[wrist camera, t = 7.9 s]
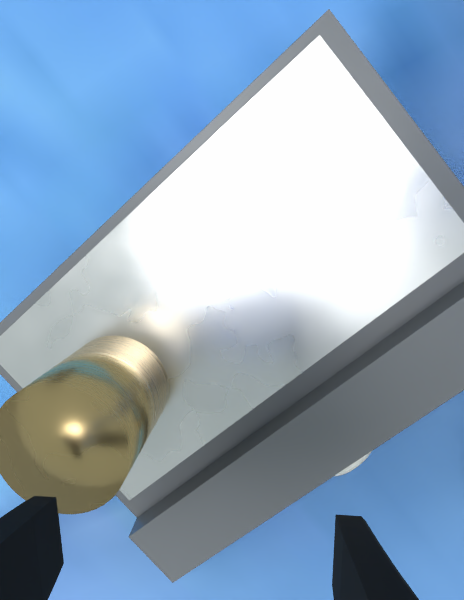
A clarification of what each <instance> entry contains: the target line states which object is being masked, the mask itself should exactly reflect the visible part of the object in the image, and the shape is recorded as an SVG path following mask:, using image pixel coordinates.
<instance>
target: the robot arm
mask: <svg viewBox="0 0 464 600" xmlns="http://www.w3.org/2000/svg"><path fill="white" fill-rule="evenodd" d="M63 564H64V562H63V553H62V544H61V535H60V526H59V517H58V508H57V499H56V497H46V496H33V497H32V498H30V499H28V500H27V501H25V502H24V503H22V504H20V505H19V506H17V507H16V508H14V509H13V510H11V511H10V512H8V513H7V514H5V515H4V516H2V517H1V518H0V600H48V598H49V596H50V593H51V591H52V589H53V587H54V585H55V582H56V580H57V578H58V575H59V573H60V571H61V568H62V566H63ZM332 587H333V596H334V600H419V599H418V598H417V596H416V595H415V594H414V592H413V591H412V589H411V588H410V587H409V585H408V584H407V583H406V581H405V580H404V579H403V577H402V576H401V574H400V573H399V572H398V570H397V569H396V567H395V566H394V564H393V563H392V561H391V560H390V558H389V557H388V555H387V554H386V552H385V551H384V550H383V548H382V546H381V545H380V543H379V542H378V540H377V539H376V537H375V536H374V534H373V532H372V531H371V529H370V527H369V526H368V524H367V522H366V521H365V520H364V519H363V518H362V517H361V516H347V515H336V520H335V540H334V560H333V579H332Z"/></svg>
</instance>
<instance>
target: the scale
mask: <svg viewBox="0 0 464 600" xmlns="http://www.w3.org/2000/svg"><path fill="white" fill-rule="evenodd" d="M104 336H123V337H128V338H131V339H134V340H136V341H138V342H140V343H142V344H143V345H145V346H146V347H148V348H149V349H150V350H151V351H152V352H153V353H154V354H155V355H156V356H157V357H158V359H159V360H160V362H161V363H162V365H163V367H164V369H165V371H166V374H167V378H168V384H169V395H168V400H167V403H166V406H165V408H164V410H163V412H162V414H161V415H160V417H159V419H158V421H157V423H156V424H155V426H154V428H153V430H152V432H151V433H150V435H149V437H148V439H147V441H146V443H145V444H144V446H143V448H142V450H141V452H140V453H139V455H138V457H137V459H136V461H135V462H134V464H133V466H132V468H131V470H130V472H129V473H128V475H127V477H126V479H125V481H124V482H123V484H122V486H121V488H120V489H119V491H118V492H117V493H116V496H117V497H118V498H119V499H120V500H121V501H122V502H123V503H124V505H125V506H126V507H127V508H128V509H129V510H130V511H131V512H132V513H133V514H134V515H135V516H136V517H137V519H136V521H135V524H134V526H133V528H132V531H131V533H130V535H129V538H130V539H131V540H132V541H133V542H134V543H135V544H136V545H137V546H138V547H139V548H140V549H141V550H142V551H143V552H144V553H145V554H146V556H147V557H148V558H149V559H150V560H151V561H152V562H153V563H154V564H155V565H156V566H157V567H158V568H159V569H160V570H161V571H162V572H163V573H164V574H165V575H166V576H167V577H168V578H169V579H170V580H171V581H172V583H173V582H174V581H176V580H177V579H179V578H181V577H182V576H184V575H185V574H187V573H188V572H190V571H191V570H193V569H194V568H196V567H197V566H199V565H200V564H202V563H203V562H205V561H206V560H208V559H209V558H211V557H212V556H214V555H215V554H217V553H218V552H220V551H221V550H223V549H224V548H226V547H227V546H229V545H230V544H232V543H233V542H235V541H236V540H238V539H239V538H241V537H242V536H244V535H245V534H247V533H248V532H250V531H251V530H253V529H255V528H256V527H258V526H259V525H261V524H262V523H264V522H265V521H267V520H268V519H270V518H271V517H273V516H274V515H276V514H277V513H279V512H280V511H282V510H283V509H285V508H286V507H288V506H289V505H291V504H292V503H294V502H295V501H297V500H298V499H300V498H301V497H303V496H304V495H306V494H307V493H309V492H310V491H312V490H313V489H315V488H316V487H318V486H319V485H321V484H322V483H324V482H325V481H327V480H329V479H330V478H332V477H333V476H339V475H343V474H345V473H348V472H350V471H352V470H353V469H355V468H356V467H358V466H359V465H360V464H361V463H362V462H363V461H364V460H365V459H366V458H367V457H368V456H369V454H370V453H371V451H372V450H374V449H375V448H377V447H378V446H380V445H381V444H383V443H384V442H386V441H387V440H389V439H390V438H392V437H393V436H395V435H396V434H398V433H400V432H401V431H403V430H404V429H406V428H407V427H409V426H410V425H412V424H413V423H415V422H416V421H418V420H419V419H421V418H422V417H424V416H425V415H427V414H428V413H430V412H431V411H433V410H434V409H436V408H437V407H439V406H440V405H442V404H443V403H445V402H446V401H448V400H449V399H451V398H452V397H454V396H455V395H457V394H458V393H460V392H461V391H463V390H464V187H463V185H462V184H461V183H460V181H459V180H458V179H457V177H456V176H455V175H454V173H453V172H452V171H451V169H450V168H449V167H448V165H447V164H446V163H445V161H444V160H443V159H442V158H441V156H440V155H439V154H438V152H437V151H436V150H435V148H434V147H433V146H432V144H431V143H430V142H429V140H428V139H427V138H426V136H425V135H424V134H423V132H422V131H421V130H420V128H419V127H418V126H417V125H416V123H415V122H414V121H413V119H412V118H411V117H410V115H409V114H408V113H407V111H406V110H405V109H404V107H403V106H402V105H401V103H400V102H399V101H398V99H397V98H396V97H395V96H394V94H393V93H392V92H391V90H390V89H389V88H388V86H387V85H386V84H385V82H384V81H383V80H382V78H381V77H380V76H379V74H378V73H377V72H376V70H375V69H374V68H373V66H372V65H371V64H370V63H369V61H368V60H367V59H366V57H365V56H364V55H363V53H362V52H361V51H360V49H359V48H358V47H357V45H356V44H355V43H354V41H353V40H352V39H351V37H350V36H349V35H348V34H347V32H346V31H345V30H344V28H343V27H342V26H341V24H340V23H339V22H338V20H337V19H336V18H335V16H334V15H333V14H332V12H331V11H330V10H328V11H327V12H325V13H324V14H323V15H322V16H321V17H320V18H319V19H318V20H317V21H316V22H315V23H314V24H313V25H312V26H311V27H310V28H309V29H308V30H307V31H306V32H305V33H303V34H302V35H301V36H300V37H299V38H298V39H297V40H296V41H295V42H294V43H293V44H292V45H291V46H290V47H289V48H288V49H287V50H286V51H285V52H284V53H282V54H281V55H280V56H279V57H278V58H277V59H276V60H275V61H274V62H273V63H272V64H271V65H270V66H269V67H268V68H267V69H266V70H265V71H264V72H263V73H262V74H260V75H259V76H258V77H257V78H256V79H255V80H254V81H253V82H252V83H251V84H250V85H249V86H248V87H247V88H246V89H245V90H244V91H243V92H242V93H241V94H240V95H238V96H237V97H236V98H235V99H234V100H233V101H232V102H231V103H230V104H229V105H228V106H227V107H226V108H225V109H224V110H223V111H222V112H221V113H220V114H219V115H217V116H216V117H215V118H214V119H213V120H212V121H211V122H210V123H209V124H208V125H207V126H206V127H205V128H204V129H203V130H202V131H201V132H200V133H199V134H198V135H197V136H195V137H194V138H193V139H192V140H191V141H190V142H189V143H188V144H187V145H186V146H185V147H184V148H183V149H182V150H181V151H180V152H179V153H178V154H177V155H176V156H175V157H173V158H172V159H171V160H170V161H169V162H168V163H167V164H166V165H165V166H164V167H163V168H162V169H161V170H160V171H159V172H158V173H157V174H156V175H155V176H154V177H152V178H151V179H150V180H149V181H148V182H147V183H146V184H145V185H144V186H143V187H142V188H141V189H140V190H139V191H138V192H137V193H136V194H135V195H134V196H133V197H132V198H130V199H129V200H128V201H127V202H126V203H125V204H124V205H123V206H122V207H121V208H120V209H119V210H118V211H117V212H116V213H115V214H114V215H113V216H112V217H111V218H110V219H108V220H107V221H106V222H105V223H104V224H103V225H102V226H101V227H100V228H99V229H98V230H97V231H96V232H95V233H94V234H93V235H92V236H91V237H90V238H89V239H87V240H86V241H85V242H84V243H83V244H82V245H81V246H80V247H79V248H78V249H77V250H76V251H75V252H74V253H73V254H72V255H71V256H70V257H69V258H68V259H67V260H65V261H64V262H63V263H62V264H61V265H60V266H59V267H58V268H57V269H56V270H55V271H54V272H53V273H52V274H51V275H50V276H49V277H48V278H47V279H46V280H45V281H43V282H42V283H41V284H40V285H39V286H38V287H37V288H36V289H35V290H34V291H33V292H32V293H31V294H30V295H29V296H28V297H27V298H26V299H25V300H24V301H22V302H21V303H20V304H19V305H18V306H17V307H16V308H15V309H14V310H13V311H12V312H11V313H10V314H9V315H8V316H7V317H6V318H5V319H4V320H3V321H2V322H0V374H1V375H2V377H3V378H4V379H5V380H6V381H7V382H8V383H9V384H10V385H11V386H12V387H13V388H14V389H15V390H16V391H17V392H19V391H20V390H22V389H23V388H24V387H26V386H27V385H29V384H30V383H32V382H33V381H34V380H36V379H37V378H39V377H40V376H41V375H43V374H44V373H46V372H47V371H49V370H50V369H51V368H53V367H54V366H56V365H57V364H58V363H60V362H61V361H63V360H64V359H66V358H67V357H68V356H70V355H71V354H73V353H74V352H76V351H77V350H78V349H80V348H81V347H83V346H84V345H85V344H87V343H89V342H90V341H92V340H94V339H97V338H100V337H104Z"/></svg>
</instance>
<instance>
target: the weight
mask: <svg viewBox="0 0 464 600" xmlns="http://www.w3.org/2000/svg"><path fill="white" fill-rule="evenodd" d="M168 395H169V384H168V378H167V374H166V371H165V369H164V367H163V365H162V363H161V362H160V360H159V359H158V357H157V356H156V355H155V354H154V353H153V352H152V351H151V350H150V349H149V348H148V347H146V346H145V345H143V344H142V343H140V342H138V341H136V340H134V339H131V338H128V337H123V336H104V337H100V338H97V339H94V340H92V341H90V342H89V343H87V344H85V345H84V346H83V347H81V348H80V349H78V350H77V351H76V352H74V353H73V354H71V355H70V356H68V357H67V358H66V359H64V360H63V361H61V362H60V363H58V364H57V365H56V366H54V367H53V368H51V369H50V370H49V371H47V372H46V373H44V374H43V375H41V376H40V377H39V378H37V379H36V380H34V381H33V382H32V383H30V384H29V385H27V386H26V387H24V388H23V389H22V390H20V391H19V392H17V393H16V394H14V395H13V396H12V397H11V398H9V399H8V400H7V401H6V402H5V403H4V404H3V406H2V407H1V408H0V474H1V475H2V477H3V479H4V480H5V481H6V482H7V484H8V485H9V486H10V487H11V488H12V489H13V490H14V491H15V492H16V493H17V494H18V495H19V496H21V497H22V498H23V499H25V500H26V501H27V500H28V499H30V498H32V497H33V496H46V497H56V499H57V508H58V513H61V514H79V513H84V512H89V511H91V510H94V509H97V508H99V507H100V506H102V505H104V504H105V503H107V502H108V501H109V500H111V499H112V498H113V497H114V496H115V495H116V493H117V492H118V491H119V489H120V488H121V486H122V484H123V482H124V481H125V479H126V477H127V475H128V473H129V472H130V470H131V468H132V466H133V464H134V462H135V461H136V459H137V457H138V455H139V453H140V452H141V450H142V448H143V446H144V444H145V443H146V441H147V439H148V437H149V435H150V433H151V432H152V430H153V428H154V426H155V424H156V423H157V421H158V419H159V417H160V415H161V414H162V412H163V410H164V408H165V406H166V403H167V400H168Z"/></svg>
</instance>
